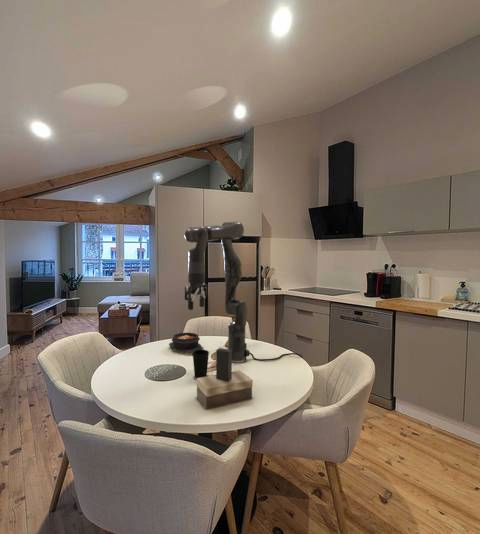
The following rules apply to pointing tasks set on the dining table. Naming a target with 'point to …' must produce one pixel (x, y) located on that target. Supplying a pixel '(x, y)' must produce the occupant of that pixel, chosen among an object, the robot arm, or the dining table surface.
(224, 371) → the dark grey rectangular block
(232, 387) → the lidded shoe box
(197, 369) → the cup
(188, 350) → the casserole
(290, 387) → the dining table surface
